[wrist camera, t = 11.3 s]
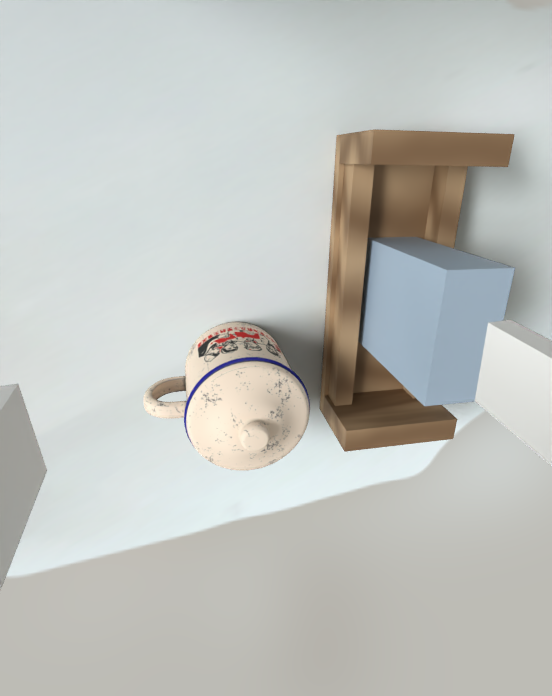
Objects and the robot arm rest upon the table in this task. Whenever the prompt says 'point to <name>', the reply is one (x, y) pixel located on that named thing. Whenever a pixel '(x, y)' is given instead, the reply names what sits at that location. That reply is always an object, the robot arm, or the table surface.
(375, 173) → the track
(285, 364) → the teacup with lid
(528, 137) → the table surface
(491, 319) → the blue box with knob
